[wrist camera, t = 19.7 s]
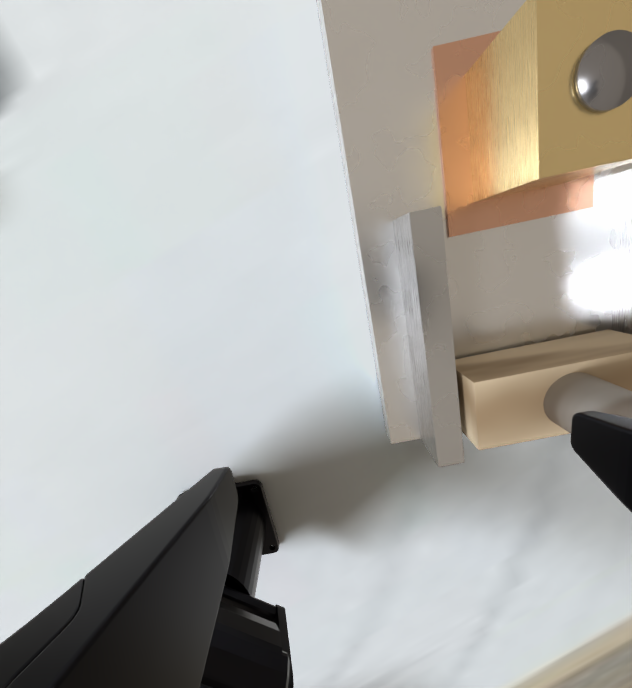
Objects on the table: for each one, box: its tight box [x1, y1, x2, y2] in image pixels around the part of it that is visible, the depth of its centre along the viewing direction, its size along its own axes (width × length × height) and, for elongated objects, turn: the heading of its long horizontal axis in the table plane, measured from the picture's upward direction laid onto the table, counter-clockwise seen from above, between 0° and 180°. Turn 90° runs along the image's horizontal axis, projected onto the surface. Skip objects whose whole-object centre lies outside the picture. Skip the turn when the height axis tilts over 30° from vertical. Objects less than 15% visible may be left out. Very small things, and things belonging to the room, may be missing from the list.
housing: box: [465, 0, 632, 203], centre depth 14 cm, size 6×5×5 cm
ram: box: [455, 329, 632, 450], centre depth 15 cm, size 4×10×10 cm, turn 101°
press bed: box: [316, 0, 632, 467], centre depth 16 cm, size 26×18×4 cm
